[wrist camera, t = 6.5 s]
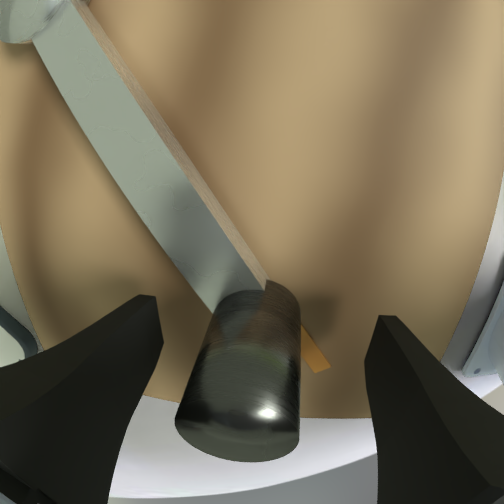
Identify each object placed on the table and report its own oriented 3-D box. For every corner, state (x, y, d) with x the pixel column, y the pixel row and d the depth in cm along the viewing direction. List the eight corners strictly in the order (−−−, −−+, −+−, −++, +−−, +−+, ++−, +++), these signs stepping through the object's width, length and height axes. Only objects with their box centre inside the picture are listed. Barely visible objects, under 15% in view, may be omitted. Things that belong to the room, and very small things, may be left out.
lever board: (482, -20, 6) (500, -30, 4) (404, 396, 16) (409, 417, 14) (13, 3, 8) (-7, 0, 7) (63, 353, 18) (51, 368, 16)
